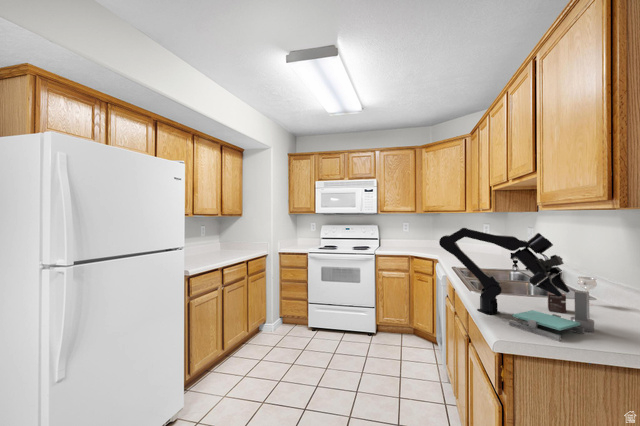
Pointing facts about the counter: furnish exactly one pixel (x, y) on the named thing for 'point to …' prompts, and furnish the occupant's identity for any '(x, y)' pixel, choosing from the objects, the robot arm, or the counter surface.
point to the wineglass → (587, 284)
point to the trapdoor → (546, 320)
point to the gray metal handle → (583, 311)
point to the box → (557, 303)
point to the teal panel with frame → (534, 329)
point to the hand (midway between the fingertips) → (565, 294)
